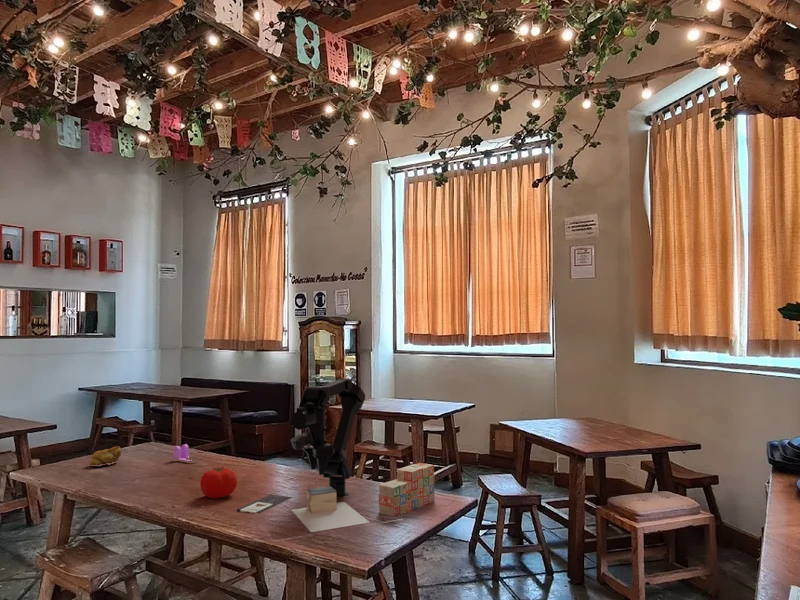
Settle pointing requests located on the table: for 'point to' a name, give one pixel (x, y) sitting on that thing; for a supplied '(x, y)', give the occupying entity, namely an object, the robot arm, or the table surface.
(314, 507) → the beech block
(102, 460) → the bread roll
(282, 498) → the chocolate bar
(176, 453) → the purple twin post stand
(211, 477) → the tomato
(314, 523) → the rubber mat
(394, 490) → the stack of blocks
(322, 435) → the robot arm
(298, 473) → the table surface
